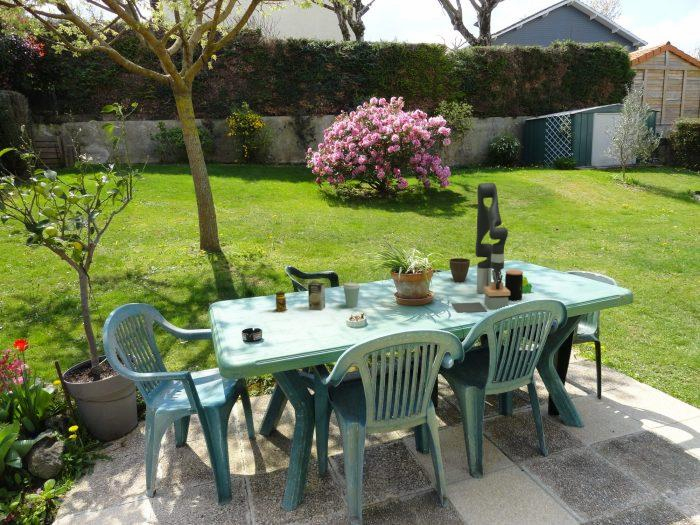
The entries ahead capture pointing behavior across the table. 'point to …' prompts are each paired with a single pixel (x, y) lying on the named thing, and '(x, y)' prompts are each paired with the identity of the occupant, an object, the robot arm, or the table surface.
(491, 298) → the storage box
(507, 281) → the coffee jar
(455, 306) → the rubber mat
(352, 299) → the disposable coffee cup
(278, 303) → the condiment
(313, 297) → the coffee box
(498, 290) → the lid
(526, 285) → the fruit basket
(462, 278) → the plant pot
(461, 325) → the table surface
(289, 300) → the table surface
